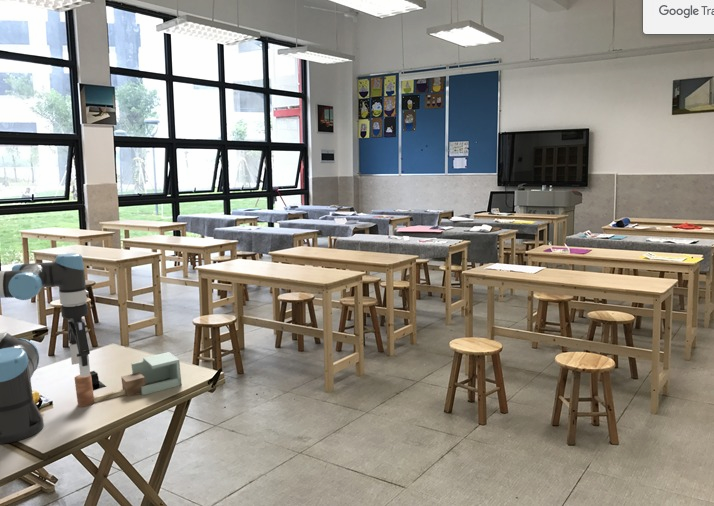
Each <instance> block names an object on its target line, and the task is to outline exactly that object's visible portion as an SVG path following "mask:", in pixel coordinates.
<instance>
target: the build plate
mask: <svg viewBox="0 0 714 506" xmlns="http://www.w3.org/2000/svg"><path fill="white" fill-rule="evenodd" d="M90 374H91V378H92V387H93V391H95V390H99V389H103V388H106V387H107V385H105V384H104V383H103V382H102V381H101V380H99V375H98V372H96V371H95V370H90Z"/></svg>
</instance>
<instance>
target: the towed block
mask: <svg viewBox="0 0 714 506" xmlns="http://www.w3.org/2000/svg"><path fill="white" fill-rule="evenodd" d="M74 384H75V394H76V400H77V406H78V407H89V406H92V405H94V404H95V403H97V402H101V401H105V400H108V399H113V398H117V397H120V396H124V395H125V396H126V397H130V396H134V395H139V394H141V387H142V386H146V385H147V384H145V377H144V376H143V375H142V374H141V373H140V372H139V373H135V374H132V373H131V374H130V373H129V374H127V375H123V376H121V388H122V389H119V390H114V391H111V392H106V393H102V394H100V395H99V394H98V395H94V390H93V387H92V378H91V374H90V375H87V376H82V377H81V376H80V374H78V375H75V376H74Z"/></svg>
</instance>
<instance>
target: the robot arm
mask: <svg viewBox="0 0 714 506" xmlns="http://www.w3.org/2000/svg"><path fill="white" fill-rule="evenodd" d="M85 272H86V271H85V266H84V258H83V256H82V255H81V254H79V253H76V252H73V253H69V252H68V253H62V254H58V255H56V257H55V261H50V262H35V263H22V264H21V263H20V264H15V265H13V266H12V268H11V270H0V299H2V298H3V299H4V298H5V299H7V298H8V299H9V298H10V299H11V298H15V299H17V300H19V301H26V300H30V299H32V298H34V297H36V296H37V295H38V294H39V293H40V292H41V290H42V288H52V287H53V288H55V287H58V296H59V304H61V305H60V311H61V317H62V318H64V319H66V320H67V341H68V343H69V349H70V358H71V365H77V364H78V367H79V375H80V376H81V377H82V376H87V375H90V372H91V367H90V357H89V355H90V354H91V352H90V348H89V343H88V338H87V331H86V323H85V322H84V321H83V319H82V318H83V317H86V316H87V315H88V314H89V307H88V306H89V305H88V303H87V301H88V296H87V295H89V291H88V290H87V286H86V285H87V284H86V274H85ZM39 363H40V353H39V349H38V348H37V347H36V345H35V344H34V343H33V342H31V340H29V339H25V338H16V337H15V336H13V335H11V334H10V333H8V332H1V333H0V445H3V444H9V443H14V442H18V441H21V440H24V439H27V438H30V437H32V436H34V435H36V434H37V433H39V432H41V430H42V429H43V428H44V425H45V423H44V418H43V416H42V413H41V412H40V410H39V408H38V406H37V405H36V403H35V401H34V396H33V395H34V394H33V389H32V381H31V380H32V377H33V375H34V373H35V371H36V370H38V369H37V368H38V365H39Z"/></svg>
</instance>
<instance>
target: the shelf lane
mask: <svg viewBox="0 0 714 506" xmlns="http://www.w3.org/2000/svg"><path fill="white" fill-rule="evenodd" d="M130 365H131V371H132V373H131V374H135V373H139V372H140V373H141V374H142V375H143V376H144V377H145V384H146V386H142V387H141V393H140V394H141V395H142V396H144V395H145V396H146V395H147V394H148V395H149V394H152V393H153V394H154V393H156V392H160V391H163V390H164V391H165V390H168V389H173V388H175V387H180V386H182V374H181V364H180V359H179V358H178V357H177V356H175V355H174V354H173V353H171V352H170V351H168V352H163V353H158V354H154V355H150V356H144V357H143V358H142V360H140V361H136V362H131V364H130Z"/></svg>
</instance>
